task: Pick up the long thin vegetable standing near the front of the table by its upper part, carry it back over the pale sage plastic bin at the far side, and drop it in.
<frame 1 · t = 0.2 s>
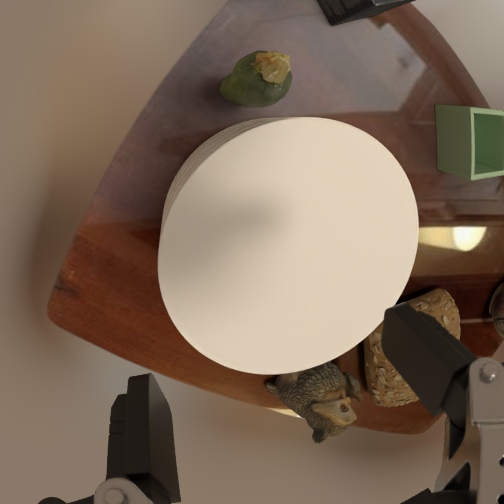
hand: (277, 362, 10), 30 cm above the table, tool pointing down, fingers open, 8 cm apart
plate stack: (273, 228, 41), on the table
vegetable: (230, 94, 33), on the table
bin: (456, 136, 42), on the table
bread: (401, 338, 56), on the table
box: (343, 3, 30), on the table
ceramic jug: (496, 298, 63), on the table
figurine: (304, 363, 52), on the table
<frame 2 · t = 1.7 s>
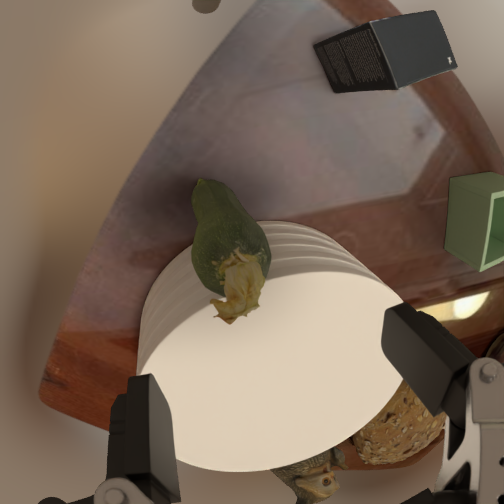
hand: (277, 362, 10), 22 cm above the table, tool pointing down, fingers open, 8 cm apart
plate stack: (259, 331, 38), on the table
vegetable: (207, 196, 30), on the table
bin: (469, 209, 38), on the table
bread: (392, 401, 53), on the table
box: (352, 59, 27), on the table
ceramic jug: (493, 349, 60), on the table
figurine: (292, 432, 49), on the table
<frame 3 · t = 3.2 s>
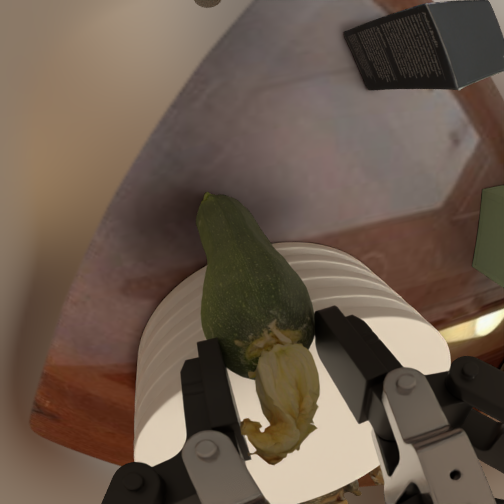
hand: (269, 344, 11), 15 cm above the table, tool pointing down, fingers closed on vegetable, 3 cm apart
plate stack: (273, 364, 32), on the table
vegetable: (215, 213, 24), on the table, touching gripper
bin: (498, 222, 33), on the table
box: (386, 51, 22), on the table
figurine: (303, 458, 44), on the table
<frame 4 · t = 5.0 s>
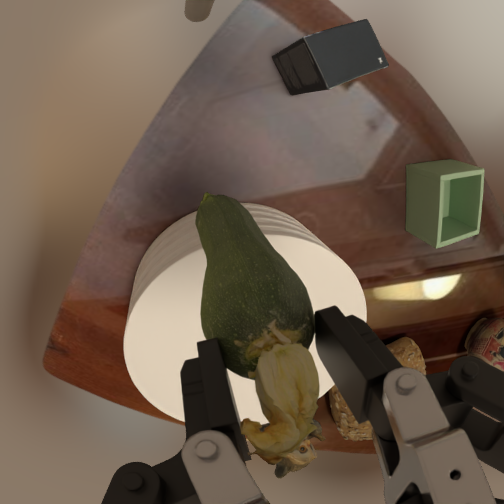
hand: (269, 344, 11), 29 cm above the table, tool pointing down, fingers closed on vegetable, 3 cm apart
plate stack: (234, 300, 44), on the table
vegetable: (214, 213, 24), point 13 cm above the table, touching gripper
bin: (429, 193, 45), on the table
bread: (369, 379, 60), on the table
box: (306, 65, 34), on the table
ceramic jug: (473, 334, 66), on the table
figurine: (273, 404, 55), on the table
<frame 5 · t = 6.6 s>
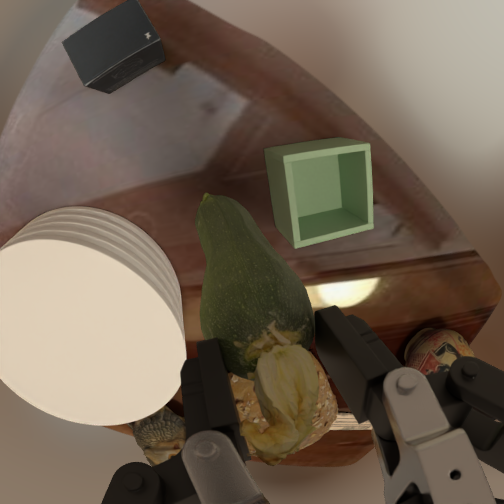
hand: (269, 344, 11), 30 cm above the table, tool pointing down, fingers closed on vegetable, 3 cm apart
newspaper: (356, 420, 70), on the table
plate stack: (86, 301, 41), on the table
vegetable: (214, 213, 24), point 15 cm above the table, touching gripper
bin: (307, 181, 41), on the table
bread: (271, 391, 56), on the table
box: (126, 59, 30), on the table
ceramic jug: (415, 345, 62), on the table
figurine: (160, 408, 52), on the table
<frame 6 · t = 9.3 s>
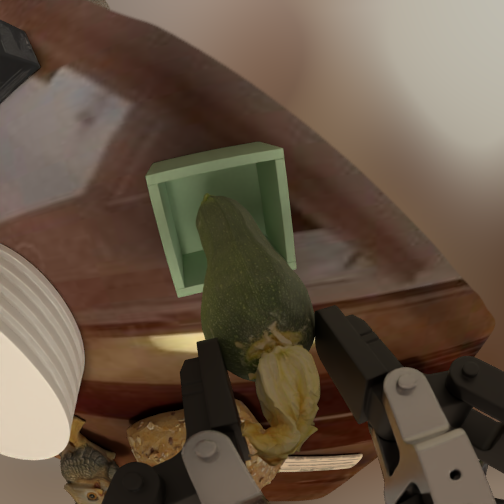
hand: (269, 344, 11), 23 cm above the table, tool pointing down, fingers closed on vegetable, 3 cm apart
newspaper: (317, 461, 60), on the table
vegetable: (214, 214, 24), point 8 cm above the table, touching gripper
bin: (215, 202, 32), on the table
bread: (206, 436, 47), on the table
box: (6, 72, 21), on the table
figurine: (89, 441, 43), on the table
when the fingers open (21 cm above the table, at t = 10.2 s): vegetable drops 5 cm, resting on bin.
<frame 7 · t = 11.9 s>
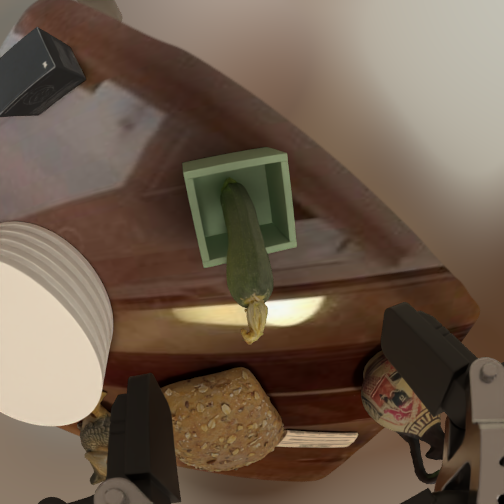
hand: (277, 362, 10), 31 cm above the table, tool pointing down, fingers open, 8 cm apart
newspaper: (316, 438, 68), on the table
plate stack: (30, 309, 39), on the table
vegetable: (231, 185, 38), point 1 cm above the table, touching bin
bin: (232, 195, 40), on the table
bread: (215, 406, 54), on the table
box: (53, 81, 28), on the table
ceramic jug: (376, 366, 61), on the table
figurine: (108, 414, 50), on the table
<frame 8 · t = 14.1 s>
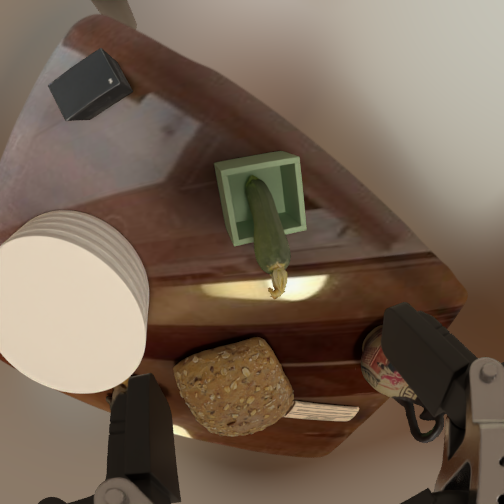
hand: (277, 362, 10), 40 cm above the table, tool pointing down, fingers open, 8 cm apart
newspaper: (321, 410, 77), on the table
plate stack: (72, 288, 48), on the table
vegetable: (253, 181, 48), point 1 cm above the table, touching bin
bin: (253, 189, 49), on the table
bread: (233, 376, 64), on the table
box: (102, 91, 38), on the table
ceramic jug: (374, 341, 70), on the table
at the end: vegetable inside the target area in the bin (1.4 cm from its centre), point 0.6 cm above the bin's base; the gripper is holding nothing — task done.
